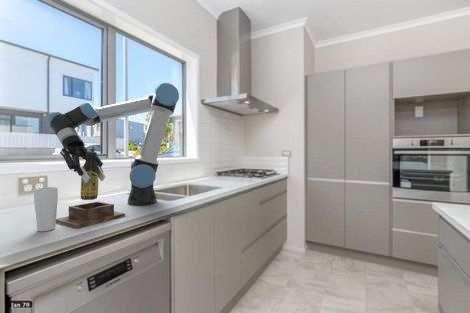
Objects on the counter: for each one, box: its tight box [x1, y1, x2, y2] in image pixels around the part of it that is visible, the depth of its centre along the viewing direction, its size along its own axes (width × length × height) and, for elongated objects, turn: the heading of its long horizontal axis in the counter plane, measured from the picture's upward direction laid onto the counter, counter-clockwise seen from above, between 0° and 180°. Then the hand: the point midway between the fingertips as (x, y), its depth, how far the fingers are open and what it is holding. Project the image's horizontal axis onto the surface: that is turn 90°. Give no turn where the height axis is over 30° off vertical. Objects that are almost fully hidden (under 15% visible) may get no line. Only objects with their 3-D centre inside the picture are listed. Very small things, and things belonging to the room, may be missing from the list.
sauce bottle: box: [80, 151, 99, 201], centre depth 100 cm, size 6×6×20 cm
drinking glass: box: [33, 186, 59, 232], centre depth 87 cm, size 7×7×15 cm
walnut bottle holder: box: [56, 201, 126, 229], centre depth 101 cm, size 20×16×6 cm
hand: (95, 179), depth 99 cm, fingers closed on sauce bottle, 6 cm apart
